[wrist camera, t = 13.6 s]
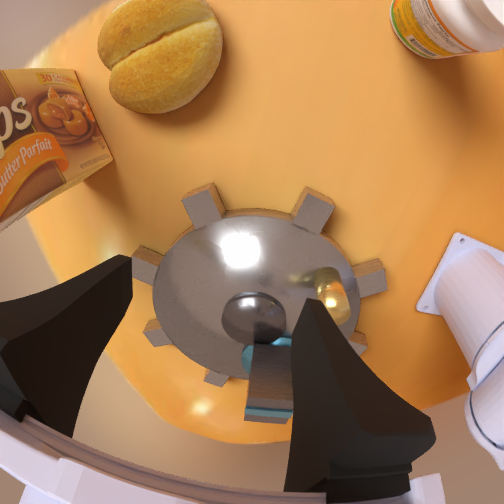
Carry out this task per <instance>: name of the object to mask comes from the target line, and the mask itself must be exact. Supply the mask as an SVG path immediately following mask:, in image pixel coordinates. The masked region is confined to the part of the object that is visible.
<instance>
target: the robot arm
mask: <svg viewBox="0 0 504 504" xmlns="http://www.w3.org/2000/svg"><path fill="white" fill-rule="evenodd" d="M462 238H463V239H462ZM461 239H462V241H461V242H460V240H461ZM132 297H133V289H132V258H131V257H127V256H123V255H117V256H114V257H112V258H110V259H108V260H107V261H105V262H103V263H101V264H99V265H97V266H95V267H93V268H91V269H90V270H88V271H86V272H84V273H82V274H80V275H78V276H76V277H74V278H72V279H70V280H68V281H66V282H64V283H62V284H59V285H57V286H55V287H52V288H50V289H47V290H44V291H42V292H39V293H36V294H32V295H29V296H26V297H23V298H19V299H15V300H10V301H6V302H0V467H1V468H2V469H4V470H5V471H6V472H8V473H9V474H11V475H12V476H13V477H15V478H16V479H18V480H19V481H21V482H23V483H24V484H26V487H25V489H24V492H23V495H22V497H21V500H20V503H19V504H446V503H445V497H444V492H443V487H442V482H441V477H440V474H439V473H433V474H429V475H424V476H419V477H416V478H412V479H410V480H409V476H408V473H410V472H412V465H411V462H413V461H414V460H416V459H417V458H418V457H420V456H421V455H422V454H424V453H425V452H427V451H428V450H429V449H430V448H431V447H432V446H433V444H434V443H435V441H436V435H435V432H434V428H433V425H432V421H431V418H430V417H428V416H427V415H425V414H424V413H422V412H421V411H419V410H418V409H416V408H415V407H413V406H412V405H410V404H409V403H407V402H406V401H405V400H404V399H402V398H401V397H400V396H398V395H397V394H396V393H395V392H394V391H392V390H391V389H390V388H389V387H388V386H387V385H386V384H385V383H384V382H382V381H381V380H380V379H379V378H378V377H377V376H376V375H375V374H374V373H373V372H372V370H371V369H370V368H369V367H368V366H367V365H366V364H365V363H364V362H363V360H362V359H361V358H360V357H359V356H358V354H357V353H356V352H355V350H354V349H353V348H352V346H351V345H350V344H349V342H348V341H347V339H346V338H345V337H344V335H343V334H342V332H341V331H340V329H339V328H338V326H337V325H336V323H335V321H334V320H333V318H332V317H331V315H330V313H329V312H328V310H327V309H326V307H325V306H324V304H323V302H322V301H321V300H316V299H311V298H306V301H305V303H304V306H303V308H302V311H301V313H300V316H299V318H298V321H297V323H296V325H295V328H294V330H293V333H292V341H291V371H292V386H293V423H292V435H291V445H290V453H289V460H288V468H287V474H286V480H285V485H284V491H283V492H277V491H276V492H275V491H263V490H253V489H245V488H237V487H230V486H223V485H218V484H212V483H207V482H201V481H197V480H191V479H187V478H183V477H179V476H175V475H171V474H167V473H164V472H160V471H156V470H153V469H149V468H146V467H143V466H140V465H137V464H134V463H131V462H128V461H125V460H122V459H120V458H117V457H114V456H111V455H109V454H106V453H104V452H101V451H99V450H96V449H94V448H92V447H89V446H87V445H85V444H82V443H80V442H78V441H76V440H74V439H72V436H73V432H74V428H75V424H76V420H77V416H78V413H79V409H80V406H81V403H82V400H83V396H84V394H85V391H86V388H87V385H88V383H89V380H90V378H91V375H92V373H93V370H94V368H95V366H96V363H97V361H98V359H99V357H100V355H101V354H102V352H103V350H104V349H105V347H106V345H107V344H108V342H109V340H110V339H111V337H112V335H113V334H114V332H115V330H116V329H117V327H118V325H119V324H120V322H121V321H122V319H123V317H124V315H125V313H126V311H127V309H128V307H129V304H130V302H131V300H132ZM425 306H426V307H425ZM424 307H425V308H424ZM416 309H417V310H418V311H420V312H425V313H430V314H435V315H440V316H443V318H444V320H445V321H446V323H447V325H448V327H449V329H450V330H451V332H452V334H453V336H454V338H455V339H456V341H457V343H458V345H459V347H460V349H461V351H462V353H463V355H464V357H465V359H466V361H467V363H468V365H469V367H470V369H471V373H470V375H469V376H468V377H467V379H466V380H467V382H468V384H469V387H470V389H471V390H470V391H469V392H468V393H467V395H466V397H465V401H464V413H465V421H466V424H467V427H468V430H469V432H470V433H471V435H472V437H473V438H474V440H475V441H476V442H477V443H478V444H479V445H480V446H482V447H484V448H485V449H486V450H487V451H488V452H489V453H490V454H491V456H492V457H493V458H494V460H495V461H496V463H497V464H498V466H499V468H500V470H503V471H504V252H503V251H500V250H498V249H496V248H494V247H492V246H489V245H487V244H485V243H483V242H480V241H478V240H476V239H473V238H471V237H469V236H466V235H464V234H462V233H459V232H457V233H455V234H454V235H453V236H452V239H451V241H450V243H449V245H448V247H447V249H446V251H445V253H444V255H443V257H442V259H441V261H440V263H439V265H438V267H437V269H436V271H435V272H434V274H433V276H432V278H431V280H430V282H429V283H428V285H427V287H426V289H425V291H424V292H423V294H422V296H421V297H420V299H419V301H418V303H417V304H416Z"/></svg>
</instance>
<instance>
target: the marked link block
mask: <svg viewBox="0 0 504 504" xmlns="http://www.w3.org/2000/svg"><path fill="white" fill-rule="evenodd" d="M244 414H245V416H244V421H253V422H264V423H276V424H286V423H287V421H288V419H289V418H291V416H292V414H293V386H292V371H291V347H287V346H276V345H267V344H258V343H254V346H253V353H252V360H251V367H250V374H249V382H248V391H247V399H246V406H245V413H244Z"/></svg>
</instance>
